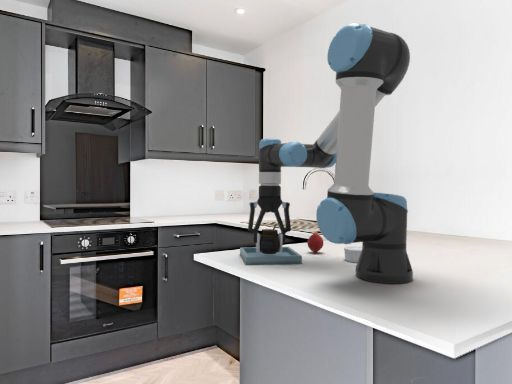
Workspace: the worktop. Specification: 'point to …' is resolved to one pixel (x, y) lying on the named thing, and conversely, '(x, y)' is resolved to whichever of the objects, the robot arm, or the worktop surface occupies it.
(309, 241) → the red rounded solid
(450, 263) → the worktop surface
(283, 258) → the slate tray
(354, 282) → the worktop surface
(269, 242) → the mate gourd
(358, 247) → the ramekin
